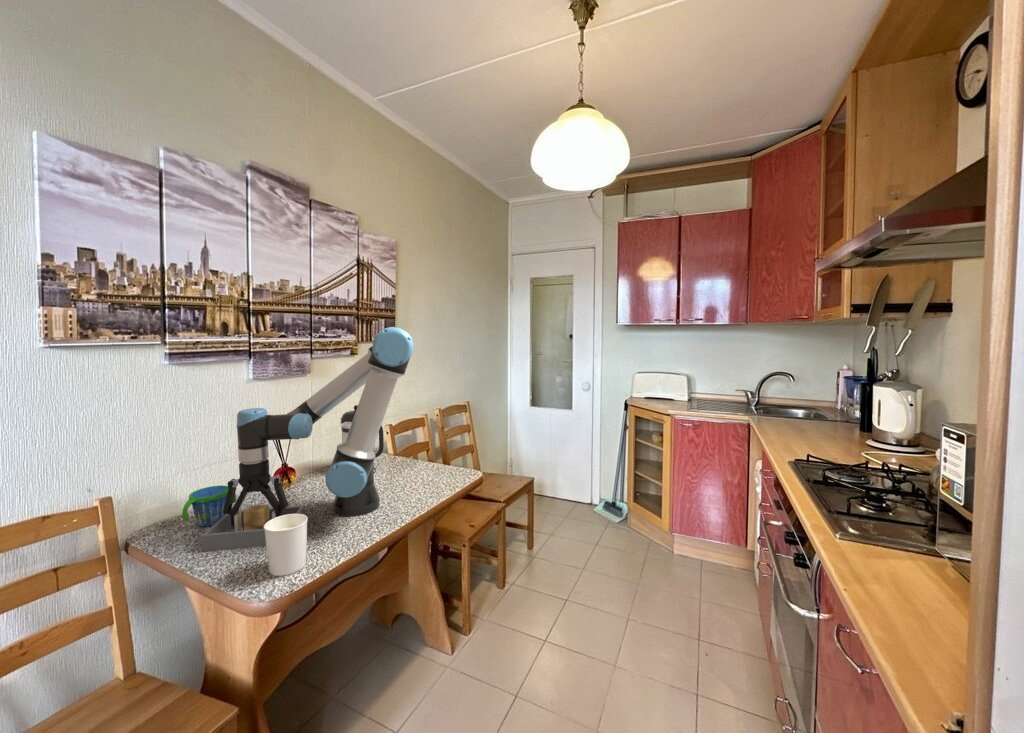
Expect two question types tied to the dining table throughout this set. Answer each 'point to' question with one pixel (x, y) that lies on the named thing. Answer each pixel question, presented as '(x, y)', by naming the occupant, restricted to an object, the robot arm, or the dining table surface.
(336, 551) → the dining table surface
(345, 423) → the coffee press
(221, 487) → the snack cup
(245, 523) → the ochre block
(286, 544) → the candle holder
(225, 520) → the charcoal bin
